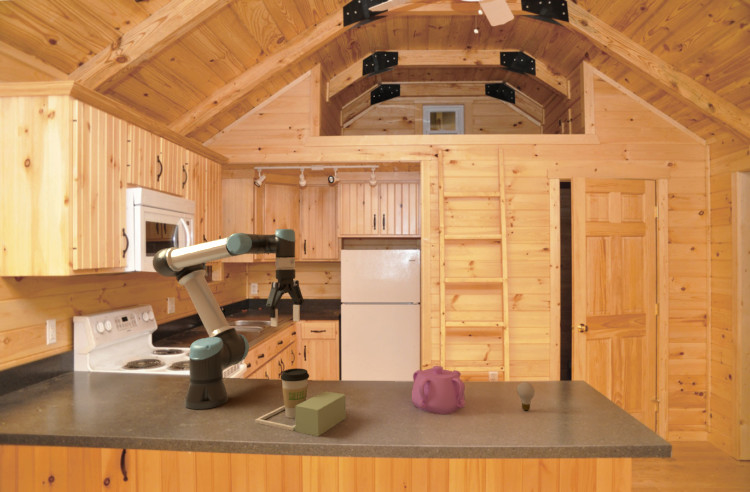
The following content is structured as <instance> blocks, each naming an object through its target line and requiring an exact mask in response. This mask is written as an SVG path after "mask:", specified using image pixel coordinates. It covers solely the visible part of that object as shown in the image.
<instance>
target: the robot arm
mask: <svg viewBox="0 0 750 492" xmlns="http://www.w3.org/2000/svg"><path fill="white" fill-rule="evenodd" d="M296 242H297V240H296V232H295V230H294V229H292V228H278V229H275V232H274V234H260V233H259V234H258V233H256V234H255V233H244V232H237V233H236V232H235V233H233V234H231V235H230V236H226V237H221V238H218V239H214V240H209V241H205V242H201V243H196V244H192V245H187V246H185V247H177V246H174V247H173V246H171V247H167V248H162V249H160V250H158V251H157V252H156V253H155V254H154V255H153V258H152V268H153V269H154V271H155V272H156V273H157V274H158V275H160V276H162V277H168V278H169V277H174V278H175V279H176V281H177V282H178V284H179V285H180V286H183V287H184V288H185V290H186V292H187V293H188V296H189V297H190V300H191V302H192V305H193V306H194V308H195V310H196V312H197V314H198V316H199V318H200V320H201V322H202V324H203V326H204V329H205V330H206V332H207V335H208V337H206V338H199V339H197V340H195V341H193V342H192V343H191V345H190V347H189V353H188V357H189V385H188V389H187V392H186V396H185V397H184V406H185V408H188V409H191V410H205V409H206V410H207V409H213V408H217V407H219V406H220V407H221V406H222V405H225V404H226V403H227V402H228V401H229V399H228V397H229V396H228V392H227V390H226V386H225V384H224V380H223V379H224V378H223V375H224V374H223V373H224V371H223V370H224V369H227V368H229V367H232V366H235V365H238V364H239V363H241V362H243V361H244V360H245V359H246V358H247V357H248V354H249V349H250V344H249V341H248V339H247V337H246V336H245V335H243V334H241V333H238V331H237V330H236V328H235V327H234V326H231V325H229V323H228V321H227V319H226V317H225V315H224V313H223V311H222V309H221V307H220V305H219V303H218V301H217V299H216V297H215V295H214V294H213V291H212V289H211V287H210V285H209V283H208V282H207V280H206V277H205V275H206V273H207V271H206V267H207V265H206V264H207V263H209V262H214V261H219V260H223V259H227V258H231V257H237V256H241V255H248V254H249V255H260V254H261V255H265V254H270V255H271V254H273V255H274V254H275V268H276V270H275V279H276V280H277V281H272V282H271V287H270V290H269V295H268V298H267V301H266V304H265V308H266V309H268V310H269V318H270V327H279V326H278V325H279V322H278V321H279V317H278V316H279V315H278V313H279V311H278V306H279V303H280V301H281V299H282V297H283V295H285V294H287V293H288V295H289V297H290V298H291V300H292V302H293V305H292V310H293V311H292V320H293V322H297V323H299V322H300V321H301V318H300V317H301V315H300V313H301V306H302V305H303V303H304V298H303V294H302V291H301V288H300V283H299V282H300V281H299V280H296V279H295V278H296V269H295V268H296ZM294 279H295V280H294Z"/></svg>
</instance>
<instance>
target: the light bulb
mask: <svg viewBox="0 0 750 492" xmlns="http://www.w3.org/2000/svg"><path fill="white" fill-rule="evenodd" d="M534 387H535V386H533V384H531V383H530V382H528V381H522V382H521V383H519V384H518V386H517V388H516V392H517V395H518V396H519V398H520V402H521V408H522V410H523V411H525V412H527V411H529V410H530V409H531V402H532V399H533V397H535V392H536V391H535V390H536V389H535V388H534Z"/></svg>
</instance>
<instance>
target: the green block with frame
mask: <svg viewBox="0 0 750 492" xmlns="http://www.w3.org/2000/svg"><path fill="white" fill-rule="evenodd" d="M284 410H285V406H284V405H282V406H279V407H277V408H275V409H274V410H271V411H269V412H268V413H266V414H263V415H261V416H259V417H258V418H255V419H254V423H255V424H260V425H263V426H267V427H273V428H276V429H277V428H279V429H283V430H287V431H291V432H293V431H295V432H296V433H301V434H306V435H308V436H309V435H311V436H314V437H319V436H320V435H321V436H322V435H323V434H324V433H325V432H328V430H330V429H332V428H333V427H335V426H336V425H338V424H339V423H340V422H342V421H343V420H345V419H346V413H347V412H346V410H347V409H346V394H344V393H340V392H339V393H338V392H332V391H326V390H324V391H322V392H320V393H317V394H316V395H314V396H312V397H310V398H308V399H306V401H304V402H302V403H300V404H298V405H296V406H295V418H294V419H295V420H294V421H295V423H294V424H293V425H288V424H284V423H279V422H274V421H271V420H267V419H268V418H271V417H272V416H274V415H276V414H278V413H280V412H282V411H284Z"/></svg>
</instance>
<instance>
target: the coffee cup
mask: <svg viewBox="0 0 750 492" xmlns="http://www.w3.org/2000/svg"><path fill="white" fill-rule="evenodd" d="M309 378H310V374H309V373H308V370H307V369H306V368H297V367H296V368H287V369H284V370H283V371H282V374H281V375H280V380H281V382H282V385H281V387H282V397H283V406H285V411H284V413H285V417H286V418H288V419H295V406H296V405H298V404H300V403H302V402H304V401H306V400H307V396H308V395H307V394H308V385H309V384H308V383H309V382H308V381H309Z"/></svg>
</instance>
